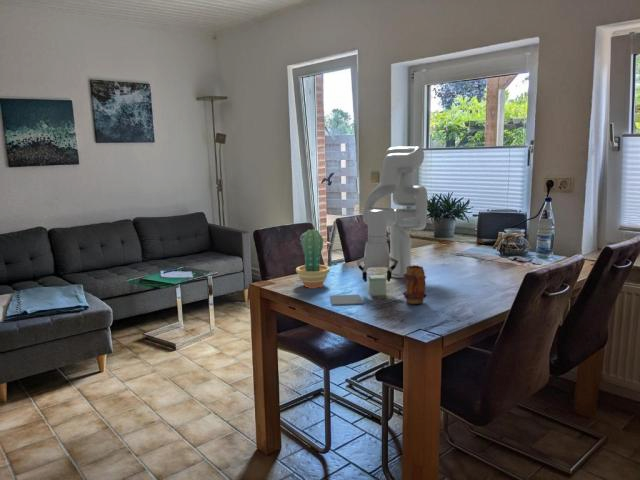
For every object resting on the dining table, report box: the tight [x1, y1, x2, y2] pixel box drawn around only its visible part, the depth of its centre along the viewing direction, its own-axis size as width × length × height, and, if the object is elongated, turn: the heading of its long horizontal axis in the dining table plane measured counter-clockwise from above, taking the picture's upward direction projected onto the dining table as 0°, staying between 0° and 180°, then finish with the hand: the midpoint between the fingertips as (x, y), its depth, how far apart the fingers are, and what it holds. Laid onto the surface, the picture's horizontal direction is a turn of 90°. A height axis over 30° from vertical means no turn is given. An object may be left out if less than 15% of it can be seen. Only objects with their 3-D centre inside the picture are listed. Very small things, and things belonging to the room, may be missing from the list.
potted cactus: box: [295, 228, 331, 289], centre depth 220 cm, size 16×15×25 cm
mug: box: [402, 265, 428, 305], centre depth 190 cm, size 15×8×15 cm, turn 5°
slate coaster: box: [329, 294, 364, 306], centre depth 198 cm, size 12×12×1 cm
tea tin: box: [368, 274, 387, 296], centre depth 207 cm, size 6×6×7 cm
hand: (376, 280), depth 206 cm, fingers open, 9 cm apart
